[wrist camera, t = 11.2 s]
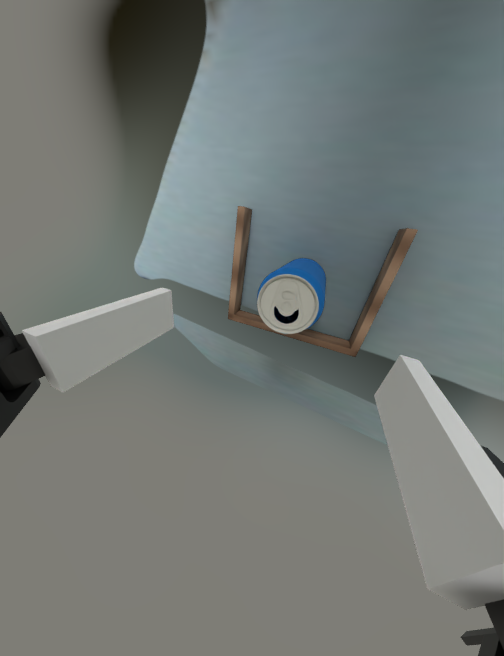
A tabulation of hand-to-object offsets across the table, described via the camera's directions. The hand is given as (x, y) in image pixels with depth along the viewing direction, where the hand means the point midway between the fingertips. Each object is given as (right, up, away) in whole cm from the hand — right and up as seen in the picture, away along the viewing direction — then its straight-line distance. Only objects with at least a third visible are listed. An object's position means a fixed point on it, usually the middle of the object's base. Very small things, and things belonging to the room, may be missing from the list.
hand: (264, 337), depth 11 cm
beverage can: (+7, +7, +17) cm, 19 cm away
